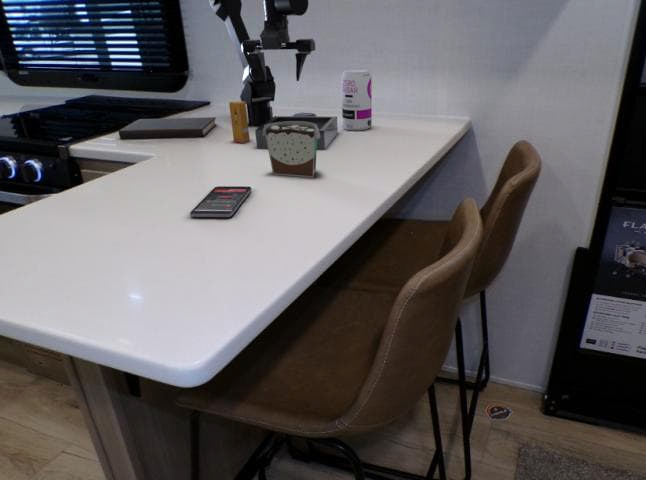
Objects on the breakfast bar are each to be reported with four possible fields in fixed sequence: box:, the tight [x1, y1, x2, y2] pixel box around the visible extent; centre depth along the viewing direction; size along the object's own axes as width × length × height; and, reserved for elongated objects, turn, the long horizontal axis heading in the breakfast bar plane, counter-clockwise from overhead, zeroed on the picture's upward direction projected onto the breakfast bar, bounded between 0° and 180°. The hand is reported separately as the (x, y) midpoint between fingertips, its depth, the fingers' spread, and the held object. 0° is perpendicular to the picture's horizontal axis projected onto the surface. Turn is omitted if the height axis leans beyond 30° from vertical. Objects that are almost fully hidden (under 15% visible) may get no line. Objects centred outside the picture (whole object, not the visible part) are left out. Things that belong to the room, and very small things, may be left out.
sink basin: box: [254, 115, 339, 150], centre depth 136 cm, size 17×17×4 cm
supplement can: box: [340, 68, 373, 132], centre depth 145 cm, size 8×8×15 cm
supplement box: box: [228, 100, 251, 144], centre depth 135 cm, size 3×3×10 cm
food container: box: [263, 121, 320, 179], centre depth 110 cm, size 12×6×10 cm, turn 71°
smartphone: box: [189, 185, 252, 219], centre depth 95 cm, size 7×1×15 cm
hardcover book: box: [118, 116, 218, 140], centre depth 149 cm, size 16×23×2 cm
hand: (281, 81), depth 142 cm, fingers open, 9 cm apart
